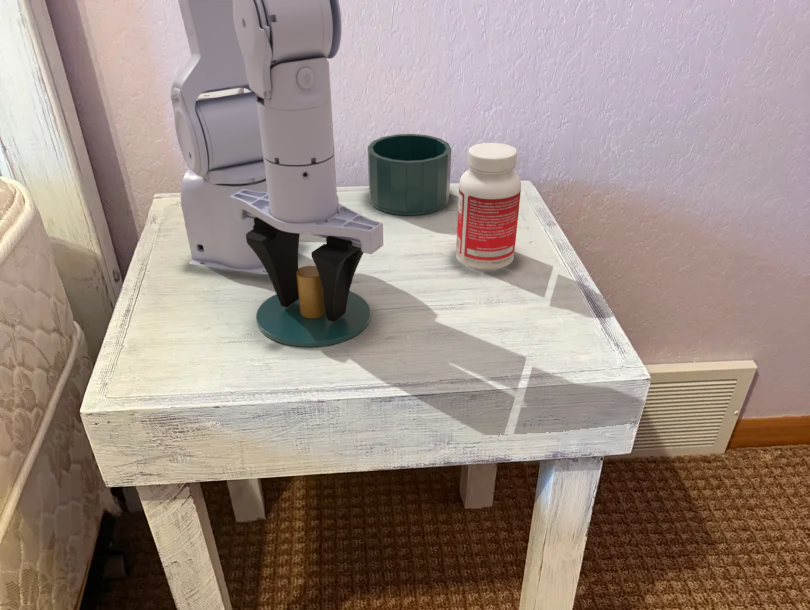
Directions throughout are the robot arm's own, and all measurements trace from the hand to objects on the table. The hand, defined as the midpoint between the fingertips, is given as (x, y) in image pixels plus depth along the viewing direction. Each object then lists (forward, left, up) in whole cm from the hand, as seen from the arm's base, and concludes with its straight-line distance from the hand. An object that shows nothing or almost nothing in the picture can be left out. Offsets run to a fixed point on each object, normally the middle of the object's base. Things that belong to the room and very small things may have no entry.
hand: (313, 309), depth 71 cm
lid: (0, 0, -1) cm, 1 cm away
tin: (+1, +31, -1) cm, 31 cm away
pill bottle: (+13, +17, -2) cm, 21 cm away
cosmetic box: (-19, +25, -2) cm, 31 cm away
